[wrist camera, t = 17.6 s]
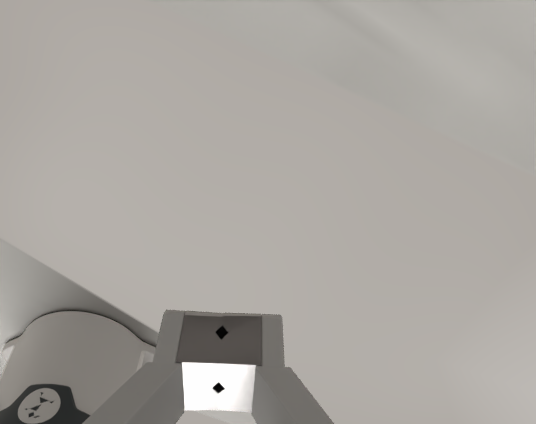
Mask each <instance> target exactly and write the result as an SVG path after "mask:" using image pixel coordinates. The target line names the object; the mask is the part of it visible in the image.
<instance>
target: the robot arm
mask: <svg viewBox="0 0 536 424" xmlns="http://www.w3.org/2000/svg"><path fill="white" fill-rule="evenodd" d="M283 347H284V345H283V325H282V317H281V315H271V314H262V315H261V314H245V313H212V312H196V311H176V310H166V311H165V313H164V315H163V319H162V323H161V328H160V332H159V336H158V340H157V344H156V347H154V346H151V345H149V344H147V343H145V342H143V341H141V340H140V339H139V338H137V337H136V336H135V335H134V334H133V333H132V332H131V331H129V330H128V329H127V328H125V327H124V326H122V325H121V324H119V323H117V322H115V321H113V320H111V319H109V318H106V317H103V316H100V315H96V314H92V313H87V312H79V311H63V312H56V313H51V314H47V315H45V316H42V317H40V318H38V319H36V320H35V321H33V322H32V323H31V324H30V325H29V326H28V327H27V328H26V330H25V331H24V333H23V334H22V335H21V336H20V337H18V338H16V339H13V340H11V341H9V342H8V343H6V344H5V345H4V348H3V350H2V356H3V358H4V359H5V361H6V362H7V363H6V365H5V368H4V370H3V372H2V374H1V377H0V424H176V422H177V421H178V420H179V418H180V417H181V416H182V414H183V413H184V410H223V411H240V412H252V416H253V417H254V419H255V421H256V423H257V424H334V423H333V422H332V420H331V419H330V418H329V416H328V415H327V414H326V413H325V411H324V410H323V409H322V407H321V406H320V405H319V404H318V402H317V401H316V400H315V399H314V397H313V396H312V395H311V393H310V392H309V391H308V389H307V388H306V387H305V386H304V385H303V383H302V382H301V380H300V379H299V378H298V377H297V375H296V374H295V373H294V372H293V370H292V369H291V368H290V367H285V365H284V348H283Z"/></svg>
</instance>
